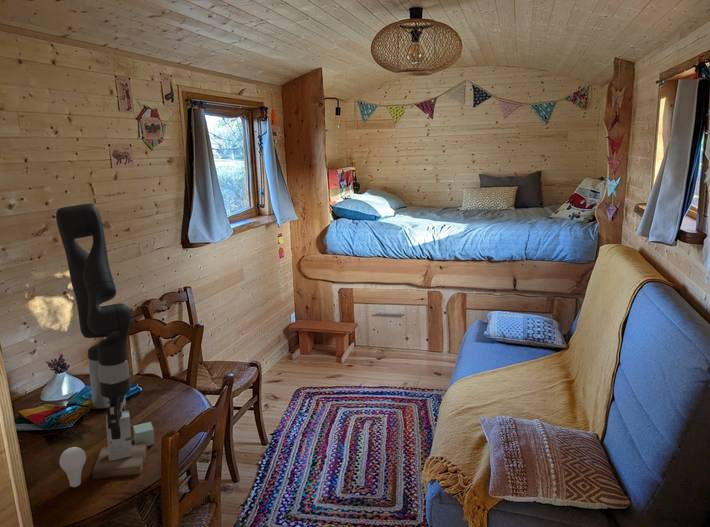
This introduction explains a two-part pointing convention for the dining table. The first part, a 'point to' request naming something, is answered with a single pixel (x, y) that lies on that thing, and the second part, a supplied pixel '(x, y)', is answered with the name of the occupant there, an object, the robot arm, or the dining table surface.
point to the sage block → (144, 433)
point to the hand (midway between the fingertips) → (118, 430)
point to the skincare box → (122, 445)
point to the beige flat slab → (120, 463)
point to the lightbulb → (73, 464)
